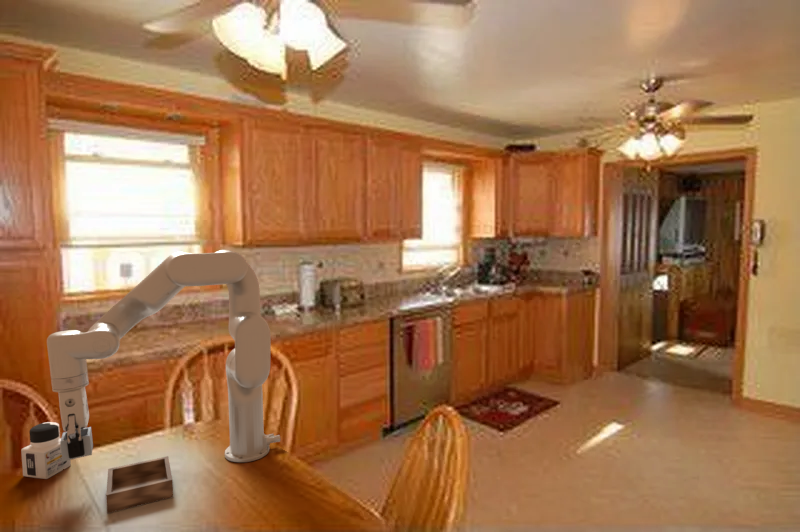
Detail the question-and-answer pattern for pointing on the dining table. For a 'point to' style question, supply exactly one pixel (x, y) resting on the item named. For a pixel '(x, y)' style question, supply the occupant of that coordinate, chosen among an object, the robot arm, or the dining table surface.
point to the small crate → (87, 440)
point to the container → (43, 452)
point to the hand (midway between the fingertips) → (78, 450)
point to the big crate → (138, 484)
